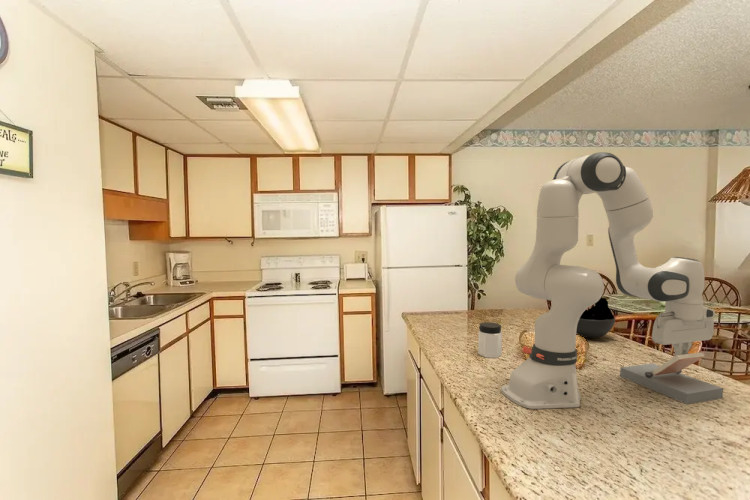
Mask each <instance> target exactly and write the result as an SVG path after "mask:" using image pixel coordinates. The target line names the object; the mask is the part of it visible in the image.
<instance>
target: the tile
mask: <svg viewBox="0 0 750 500" xmlns="http://www.w3.org/2000/svg"><path fill="white" fill-rule="evenodd" d="M705 356H706V355H705V354H704V353H703V352H702V351H701V352H693V353H691V352H690V353H688V354H683V355H676V356H675V355H674V357H673V356H672V358H670V359H668V360H667V361H666V362H664V363H662V364H661V365H659V367H658V368H656V369H654V370H653V371H651V372H652V374H653V376H654V375H655V376H656V375H663V374H671V373H678V372H679V371H681V370H682V371H683V370H685V369H686V368H688V367H689V366H691V365H693V364H695V363H696V362H698V361H700V360H701V359H703V358H704V357H705Z"/></svg>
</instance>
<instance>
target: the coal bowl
mask: <svg viewBox="0 0 750 500" xmlns="http://www.w3.org/2000/svg"><path fill="white" fill-rule="evenodd" d="M615 322H616V317H615V316H614V314H613V312H612V309H610V307H609V301H608V300H607V299H606V298H604V297H601V298H600V299H599V300H598V301H597V302H596V303H595V304H594V306H593V305H592V306H590V308H587V309H586V310H585V311H584V312H583V313H582V315H581V317H580V319H579V321H578V324H577V331H576V335H579V336H581V335H582V336H581V337H583V336H584V338H588V339H591V338H592V339H593V338H600V337H603V336H605V335H607V334H608V333H610V331H611V330H612V329H613V327H614V325H615Z"/></svg>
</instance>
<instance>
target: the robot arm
mask: <svg viewBox="0 0 750 500" xmlns="http://www.w3.org/2000/svg"><path fill="white" fill-rule="evenodd" d="M590 194H597V195H598V197H599V198H600V199H601V202H602V204H603V207H604V211H605V214H606V216H607V220H608V228H607V229H608V230H607V231H608V239H609V243H610V247H611V251H612V257H613V260H614V262H615V263H614V265H615V271H616V272H615V283H616V286H617V289H618V290H619V291H620V292H621V293H622V294H624V295H625V296H629V297H637V298H641V299H646V300H651V301H655V302H664V303H665V304H664V312H660V313H659V315H657V316H656V318H655V320H654V323H653V325H652V333H651V339H652V341H653V343H656V344H659V345H663V346H665V345H666V346H667V345H671V346H672V347H673V350H674V357H675V356H676V355H683V354H689V351H690V349H691V347H692V345H693V344H692V343H694V342H700V341H701V342H702V341H710V340H711V339H712V338H713V335H714V327H715V326H714V323H715V320H714V319H713V318H715V315H716V311H715V310H714V309H712V308H708V307H706V306H704V300H703V292H704V291H705V268H704V266H703V263H702V262H701V261H700V260H698V259H695V258H689V257H682V256H674V257H670V259H669V260H668V261H667V262H665V263H663V264H662V265H661V264H660V265H658V266H656V267H648V266H644V265H642V263H640V262H639V260H638V257H637V256H638V255H637V251H636V247H635V243H634V238H635V235H636V234H637V233H640V232H641V231H643V230H645V228H647V226H649V225H650V223H651V222H652V219H653V217H654V211H653V206H652V203H651V200H650V198H649V194H648V192H647V190H646V188H645V185H644V184H643V182H642V180H641V179H640V177H639V175H638V174H637V173H636V171H635V169H633V168H632V167H629V166H625V165H624V163H623V162H622V160H621V159H620V158H619V157H618V156H617V155H615V154H613V153H612V152H607V151H606V152H605V151H604V152H603V151H602V152H595V153H592V154H588V155H581V156H578V157H576V158H573V159H572V160H568V161H566V162H564V163H562V164H561V165H560V166H559V167H558V168H557V169H556V171H555V174H554V175H553V178H552V180H549V181H547V182H545V183H544V184H542V186H541V187H540V192H539V195H538V201H537V209H536V210H537V211H536V233H535V242H534V243H535V244H534V247H533V250H532V252H531V254H530V257H529V258H527V261H526V262H524V264H522V265H521V266H519V268H518V269H517V271H516V273H515V276H514V280H515V281H514V282H515V285H516V286H515V287H516V288H517V290H518V291H519V292H520V293H522V294H525V295H527V296H528V297H529V296H530V297H532V298H535V299H540V300H546V301H551V305H550V309H549V311H547V312H544V313H541V314H540V315H539V316H538V317H537V318H536V320H535V323H534V343H533V345H532V347H531V348H530V347H528V346H526V345H525V346H523V348H522V352H523V353H524V354H526V355H529V357H528V358H527V359H526V360H524V361H523V362H522V363H521V364H520V365H518V366H517V367H515V368H514V369H513V370H512V371H511V373H510V376H509V379H508V381H509V382H508V384H504V385H502V386H501V387H500V391H501V393H502V394H503V395H504V396H505V397H506V398H507V399H509V400H510V401H512V402H513V403H514V404H517V405H518V406H520V407H524V408H527V409H530V410H537V409H538V410H540V409H541V410H542V409H562V408H567V409H568V408H579V407H581V403H580V401H581V398H582V397H581V394H580V390H579V386H578V378H577V368H576V363H578V350H577V348H576V346H577V345H576V344H577V343H576V342H577V341H576V340H577V333H576V331H577V324H578V321H579V319H580V317H581V315H582V313H583V312H584V311H585V310H586V309H587V310H588V309H589V308H591V307H592V306H593V305H595V303H596V302H597V301H598V300H599V299H600V298H602V296H603V294H604V291H605V284H604V280H603V278H602V276H601V275H600V274H599V272H597V270H594V269H589V268H587V267H582V266H581V265H567V264H561V259H562V257H563V256H564V254H565V253H567V252H569V251H571V250H573V249H574V248H575V246H577V244H578V241H579V219H580V218H579V215H580V214H579V211H580V210H579V203H580V200H581V198H582V196H583V195H590Z"/></svg>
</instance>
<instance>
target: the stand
mask: <svg viewBox="0 0 750 500" xmlns="http://www.w3.org/2000/svg"><path fill="white" fill-rule="evenodd" d="M659 366H660V365H658V364H656V363H643V364H639V365H630V366H623V367H620V368H619V369H620V370H619V373H620V374H619V376H620V377H621V378H623V379H625V380H626V379H627V381H628V380H629V381H631V382H633V383H635V384H638V385H640V386H643V387H646V388H647V389H650V390H652V391H654V392H657V393H660V394H661V395H664V396H666V397H669V398H670V399H673V400H676V401H678V402H680V403H682V404H685V405H690V404H696V403H697V404H698V403H702V402H709V401H714V400H715V401H716V400H720V399H723V397H724V396H723V394H724V388H723V387H720V386H718V385H715V384H712V383H709V382H707V381H703V380H700V379H698V378H695V377H692V376H689V375H686V374H684V373H682V371H683V370H681V371H679V372H678V373H671V374H663V375H656V376H655V375H654V376H653V374H652V372H651V371H653V370H654V369H656V368H658V367H659Z"/></svg>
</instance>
